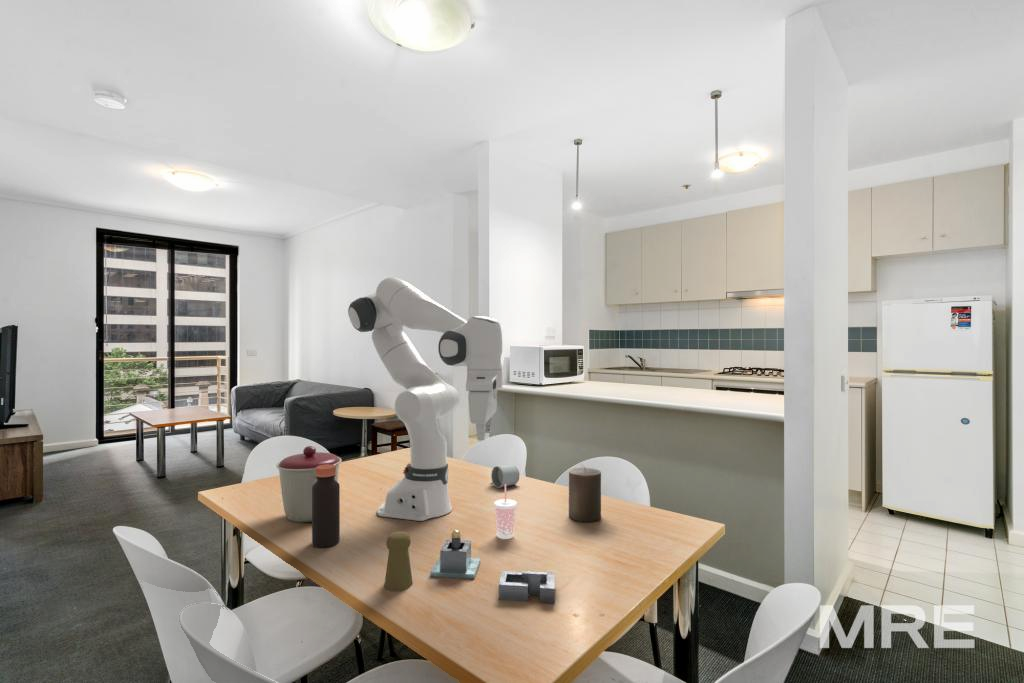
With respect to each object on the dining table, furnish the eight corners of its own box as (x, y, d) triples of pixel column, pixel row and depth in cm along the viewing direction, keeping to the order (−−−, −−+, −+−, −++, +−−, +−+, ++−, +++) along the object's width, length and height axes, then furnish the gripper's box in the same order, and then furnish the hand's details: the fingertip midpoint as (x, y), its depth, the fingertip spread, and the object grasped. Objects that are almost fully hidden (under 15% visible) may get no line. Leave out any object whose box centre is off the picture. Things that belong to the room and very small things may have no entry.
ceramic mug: (521, 486, 181) (520, 464, 181) (502, 490, 176) (502, 468, 176) (503, 480, 190) (503, 459, 190) (485, 483, 185) (485, 462, 185)
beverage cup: (512, 541, 132) (512, 488, 132) (490, 538, 134) (490, 486, 134) (519, 533, 138) (519, 482, 138) (499, 530, 140) (499, 480, 140)
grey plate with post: (430, 576, 113) (430, 536, 112) (439, 560, 120) (439, 523, 120) (474, 578, 111) (474, 538, 111) (480, 562, 119) (480, 524, 119)
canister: (266, 517, 150) (266, 446, 150) (324, 502, 163) (324, 437, 163) (292, 533, 137) (292, 456, 137) (352, 516, 151) (352, 446, 150)
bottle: (319, 550, 126) (319, 471, 126) (307, 543, 130) (307, 466, 130) (344, 542, 131) (344, 466, 131) (331, 535, 136) (331, 462, 135)
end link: (440, 570, 113) (440, 550, 113) (446, 558, 119) (446, 539, 119) (466, 571, 113) (466, 551, 113) (471, 559, 119) (471, 540, 119)
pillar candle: (600, 523, 145) (601, 471, 145) (566, 521, 147) (567, 469, 147) (601, 512, 154) (601, 464, 154) (569, 510, 156) (570, 462, 156)
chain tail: (498, 600, 102) (498, 578, 102) (502, 583, 109) (502, 563, 109) (554, 603, 101) (554, 581, 101) (555, 586, 108) (555, 566, 108)
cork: (386, 577, 112) (386, 528, 112) (414, 576, 112) (414, 527, 112) (382, 591, 106) (382, 539, 106) (411, 590, 106) (411, 538, 106)
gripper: (479, 377, 136) (479, 428, 136) (464, 384, 115) (464, 444, 115) (502, 377, 135) (502, 428, 135) (491, 384, 115) (491, 444, 115)
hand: (484, 436), depth 125 cm, fingers open, 8 cm apart
